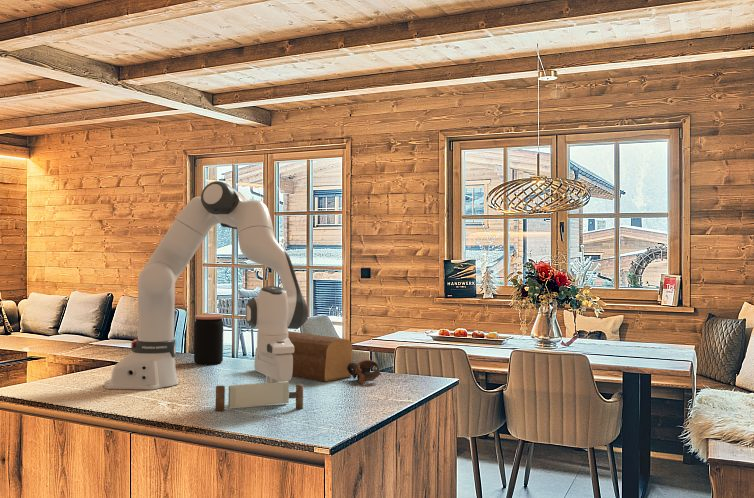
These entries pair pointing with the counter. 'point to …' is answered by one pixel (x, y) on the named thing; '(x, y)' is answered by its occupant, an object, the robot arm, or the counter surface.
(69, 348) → the counter surface
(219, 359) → the coffee jar
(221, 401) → the hinge post
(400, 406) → the counter surface
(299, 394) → the post
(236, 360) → the counter surface
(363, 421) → the counter surface
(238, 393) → the gate
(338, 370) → the bread
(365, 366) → the pottery mug
